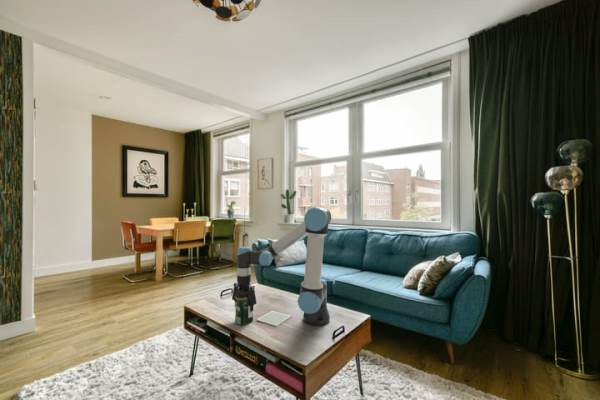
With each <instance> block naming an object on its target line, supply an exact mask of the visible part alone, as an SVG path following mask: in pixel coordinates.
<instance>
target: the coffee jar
mask: <svg viewBox="0 0 600 400" xmlns="http://www.w3.org/2000/svg"><path fill="white" fill-rule="evenodd" d="M248 291H249V290H248ZM248 291H247V292H248ZM247 294H250V291H249V292H248V293H245V292H244V290H243V289H240V290H236V291H235V299H236V314H234V315H235V317H234V318H235V319H234V322H235V324H236V325H238V326H239V325H240V326H244V325H248V324H250V323H252V322H253V321H254V315H253V316H252V317H250V318H248V306H249V302H248V299H247Z"/></svg>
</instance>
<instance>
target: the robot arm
mask: <svg viewBox="0 0 600 400" xmlns="http://www.w3.org/2000/svg"><path fill="white" fill-rule="evenodd" d="M331 220H332V214H331V211H330V210H329V208H327V207H325V206H322V205H321V206H312V207H310V208H309V209H308V210H307V211H306V212H305V214H304V217H303V221H302V222H301V223H299V224H298V225H296V226H295V227H294V228H292V229H291V230H289V231H288V232H287V233H286V234H283V236H281V237H280V238H278V239H277V240H275V241H274V242H273V243H272V244H270V245H269V246H267V247H266V248H264V249H261V250H252V248H251V246H247V245H245V246H244V245H243V246H240V247H238V248H237V251H236V262H237V263H236V266H237V267H236V274H237V275H236V282H234V283H233V291H232V294H231V295H232V296H231V300H232V301H234V309H235V314H234V315H236V299H235V291H236V290H240V289H243V290H244V292H245V293H248V292H249V291H250V294H247V299H248V302H249V306H248V318H250V317H252V316H253V317H254V314H253V313H254V306H255V305H257V297H256V292H255V291H256V290H255V285H251V280H252V275H251V274H252V273H251V272H252V271H251V269H252V266H253V265H254V266H262V267H264V266H266V267H267V266H270V265H271V263H272V261H273V260H274V259H275V258H276V257H278V256H279V255H281V254H282V253H284V252H285V251H287V250H288V249H289V248H291V247H293V246H294V245H295V244H296V243H299V241H301V240H302V239H304V238H305V237H307V242H306V255H305V265H304V268H305V269H304V278H303V279H304V280H303V281H302V282H301V283H300V293H299V295H298V298H297V305H298V308H299V309H300V310H301V311H302V312H303V316H302V320H303V322H304V323H305V324H307V325H309V326H310V325H311V326H324V325H327V324H328V323H330V322H331V316H330V313H329V310H328V305H327V303H328V301H327V300H328V298H327V297H328V292H327V291H328V288H327V287H328V284H327V280H326V279H324V278H322V270H323V257H324V246H325V245H324V243H325V237H326V236H327V235H328V233H329V225H330V223H331ZM248 290H249V291H248ZM247 291H248V292H247Z"/></svg>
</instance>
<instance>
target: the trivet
mask: <svg viewBox="0 0 600 400" xmlns="http://www.w3.org/2000/svg"><path fill="white" fill-rule="evenodd" d="M291 318H292V315H288V314H286V313H282V312H278V311H275V310H271V311H269V312H267V313H266V314H263V315H262V316H260V317H259V318H257V319H256V321H257V322H260V323H262V324H266V325H269V326H273V327H275V328H276V327H279V326H280V325H282V324H283V323H285V322H286V321H288V320H289V319H291Z"/></svg>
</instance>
